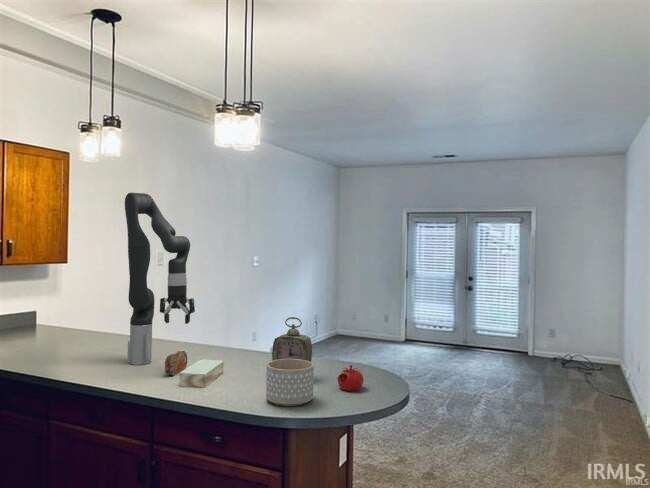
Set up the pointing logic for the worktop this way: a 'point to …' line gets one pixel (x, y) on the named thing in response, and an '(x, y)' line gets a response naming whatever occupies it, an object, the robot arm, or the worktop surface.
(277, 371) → the planter
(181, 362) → the tin
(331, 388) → the worktop surface
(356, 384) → the pomegranate
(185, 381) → the plinth
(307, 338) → the tabletop clock
